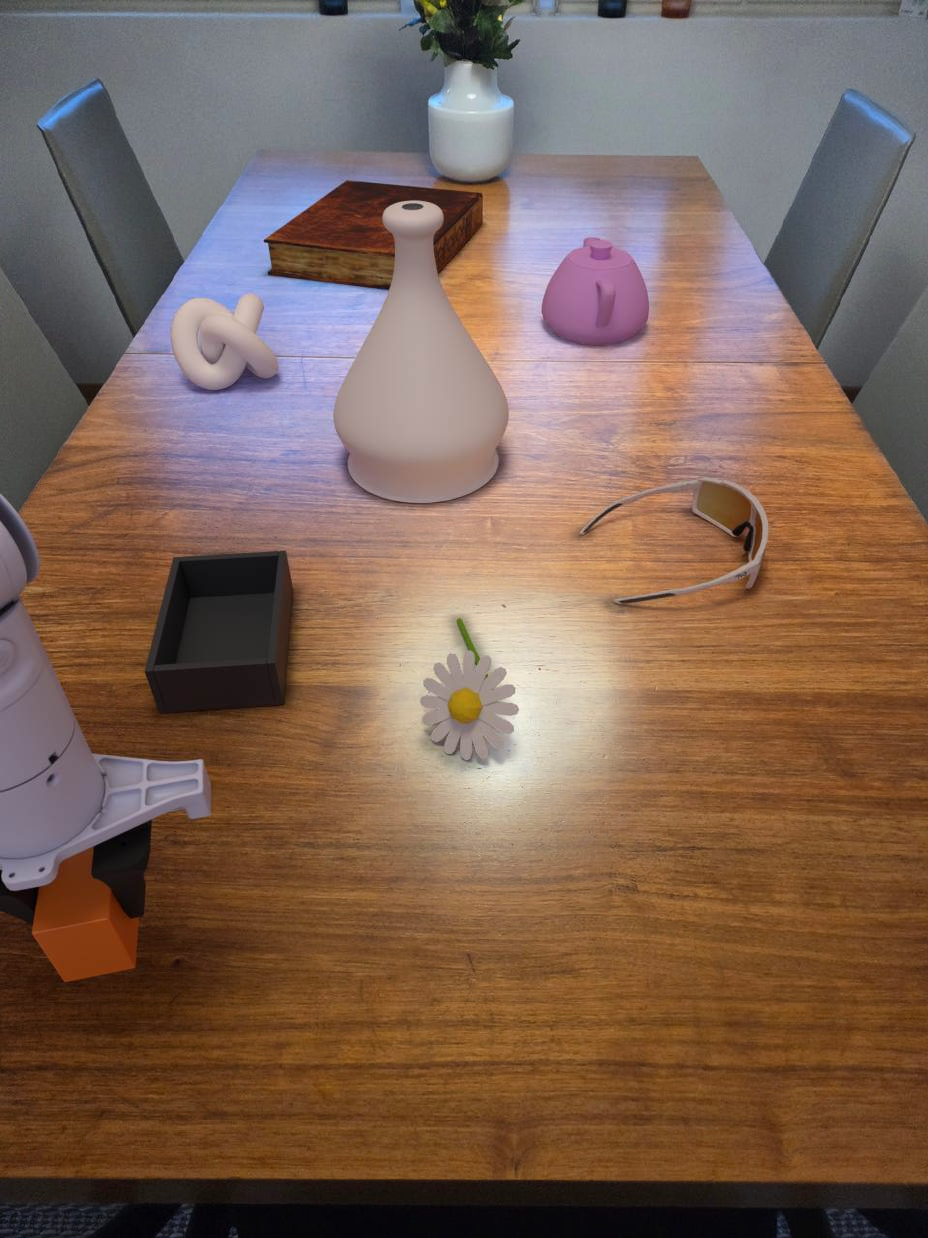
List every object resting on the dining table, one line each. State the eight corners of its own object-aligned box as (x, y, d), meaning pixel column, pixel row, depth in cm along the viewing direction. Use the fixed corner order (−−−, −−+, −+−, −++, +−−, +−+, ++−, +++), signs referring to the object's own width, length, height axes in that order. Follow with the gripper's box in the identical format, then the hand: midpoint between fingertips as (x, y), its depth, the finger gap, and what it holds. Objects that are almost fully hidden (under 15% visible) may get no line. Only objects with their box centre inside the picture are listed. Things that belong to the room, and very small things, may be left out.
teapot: (634, 293, 123) (644, 213, 116) (657, 357, 108) (670, 270, 101) (535, 293, 123) (539, 213, 116) (545, 357, 108) (550, 271, 101)
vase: (421, 531, 82) (408, 259, 65) (304, 462, 91) (266, 207, 74) (541, 458, 91) (557, 204, 74) (425, 402, 100) (415, 164, 83)
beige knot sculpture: (309, 373, 105) (299, 300, 99) (231, 412, 98) (215, 336, 92) (247, 348, 111) (234, 276, 105) (169, 383, 104) (150, 309, 98)
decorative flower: (437, 557, 67) (502, 694, 56) (492, 588, 71) (563, 722, 60) (374, 625, 70) (425, 769, 59) (431, 652, 74) (488, 791, 63)
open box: (159, 713, 65) (144, 671, 62) (185, 598, 75) (173, 556, 72) (284, 705, 66) (274, 662, 63) (293, 591, 75) (286, 550, 72)
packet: (64, 983, 44) (30, 934, 41) (76, 879, 48) (47, 827, 45) (136, 968, 45) (108, 918, 41) (141, 867, 49) (117, 814, 46)
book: (421, 293, 123) (419, 257, 120) (268, 274, 129) (262, 239, 125) (483, 225, 144) (483, 192, 141) (348, 211, 150) (346, 179, 146)
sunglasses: (792, 594, 74) (799, 548, 71) (622, 637, 74) (621, 593, 70) (723, 501, 85) (726, 457, 81) (573, 538, 84) (570, 496, 81)
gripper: (-222, 855, 32) (-70, 1014, 42) (180, 785, 35) (240, 950, 44) (-164, 715, 38) (-40, 884, 47) (183, 662, 40) (236, 833, 49)
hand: (96, 908), depth 46 cm, fingers closed on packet, 3 cm apart
